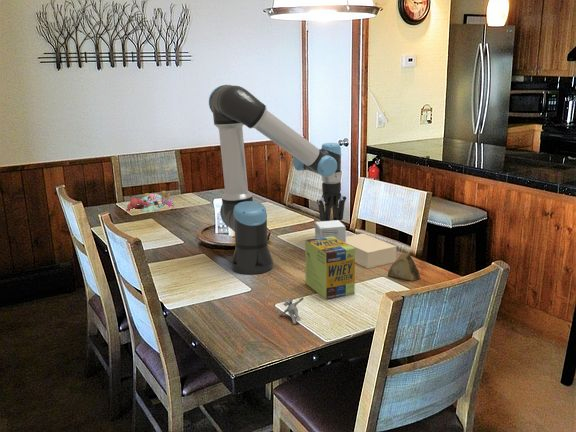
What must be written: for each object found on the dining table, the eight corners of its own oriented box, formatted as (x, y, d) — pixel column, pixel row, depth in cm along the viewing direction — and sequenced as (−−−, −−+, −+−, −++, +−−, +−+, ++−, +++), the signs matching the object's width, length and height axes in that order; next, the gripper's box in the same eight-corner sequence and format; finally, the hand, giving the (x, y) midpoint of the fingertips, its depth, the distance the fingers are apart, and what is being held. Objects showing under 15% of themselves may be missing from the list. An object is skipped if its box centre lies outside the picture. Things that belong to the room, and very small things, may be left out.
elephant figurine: (278, 326, 157) (272, 306, 164) (290, 335, 160) (283, 314, 167) (303, 308, 155) (295, 288, 162) (314, 316, 158) (306, 297, 165)
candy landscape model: (131, 206, 303) (130, 189, 301) (175, 203, 306) (174, 187, 303) (124, 217, 279) (122, 199, 277) (171, 215, 281) (170, 197, 279)
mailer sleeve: (395, 261, 206) (396, 246, 204) (367, 268, 200) (367, 252, 198) (363, 247, 223) (363, 233, 221) (336, 253, 217) (336, 238, 215)
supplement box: (346, 272, 197) (346, 226, 192) (320, 274, 195) (320, 228, 191) (339, 263, 206) (339, 219, 201) (315, 265, 204) (314, 221, 200)
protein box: (326, 300, 174) (326, 252, 170) (305, 283, 188) (304, 239, 184) (355, 294, 178) (355, 247, 174) (332, 278, 192) (332, 235, 188)
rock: (379, 270, 192) (397, 275, 183) (389, 249, 193) (408, 253, 185) (399, 283, 196) (418, 288, 188) (408, 262, 198) (427, 266, 190)
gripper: (320, 185, 217) (321, 243, 223) (352, 181, 224) (352, 237, 230) (310, 182, 223) (311, 238, 230) (341, 178, 231) (341, 232, 237)
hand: (331, 237), depth 230 cm, fingers closed on mailer tray, 2 cm apart
